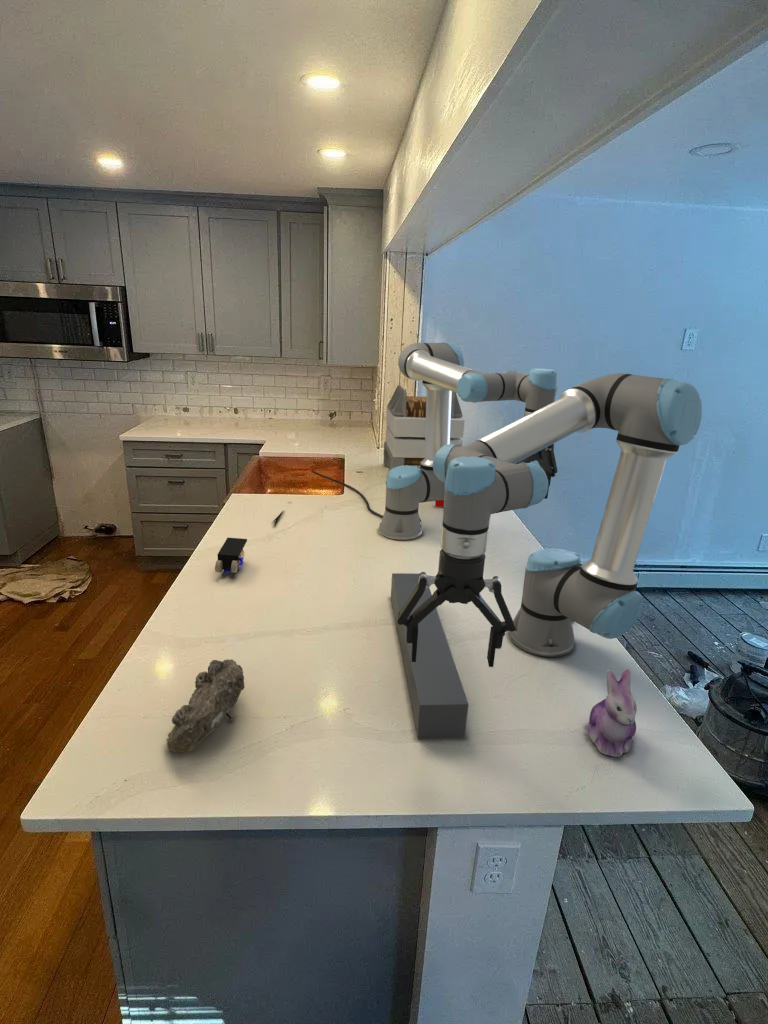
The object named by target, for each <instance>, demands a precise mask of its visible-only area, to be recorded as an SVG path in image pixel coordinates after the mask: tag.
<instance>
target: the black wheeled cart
mask: <svg viewBox="0 0 768 1024" xmlns="http://www.w3.org/2000/svg"><path fill="white" fill-rule="evenodd" d="M247 542H248V538H240V537H226V539H225V541H224V543H223V544H222V546H221V547H220V549H219V551H218V552H217V560H216V562H215V564H214V572H215V573H221V577H222V578H224V577H225V576H226V574H227V573H230V574H231V573H232V574H231V578H234V577H235V575H236V573H237V572H239V571H240V567H242V566H243V565H244V564H245V562H244V558H245V551H244V547H245V546H246V544H247Z"/></svg>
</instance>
